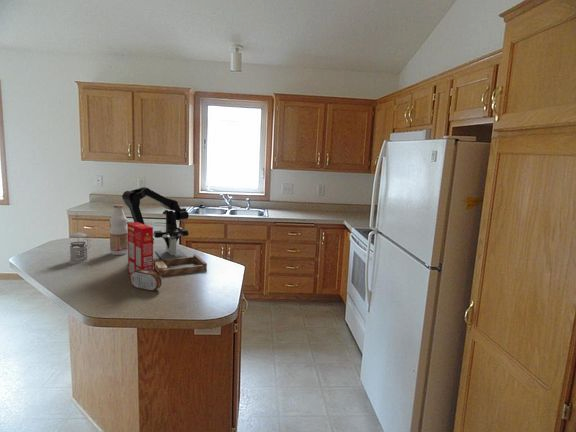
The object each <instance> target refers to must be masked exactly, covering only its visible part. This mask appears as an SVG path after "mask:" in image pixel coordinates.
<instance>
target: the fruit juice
mask: <svg viewBox="0 0 576 432" xmlns="http://www.w3.org/2000/svg"><path fill="white" fill-rule="evenodd" d="M112 208H113V212H112V214H111V217H110V218H109V225H110V228H109V249H110V251H109V252H110V254H111V255H115V256H122V255H123V256H124V255H128V227H127V223H128V218H127V216H126V215H125V212H124V210H123V208H124V205H123V204H113V207H112Z"/></svg>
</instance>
